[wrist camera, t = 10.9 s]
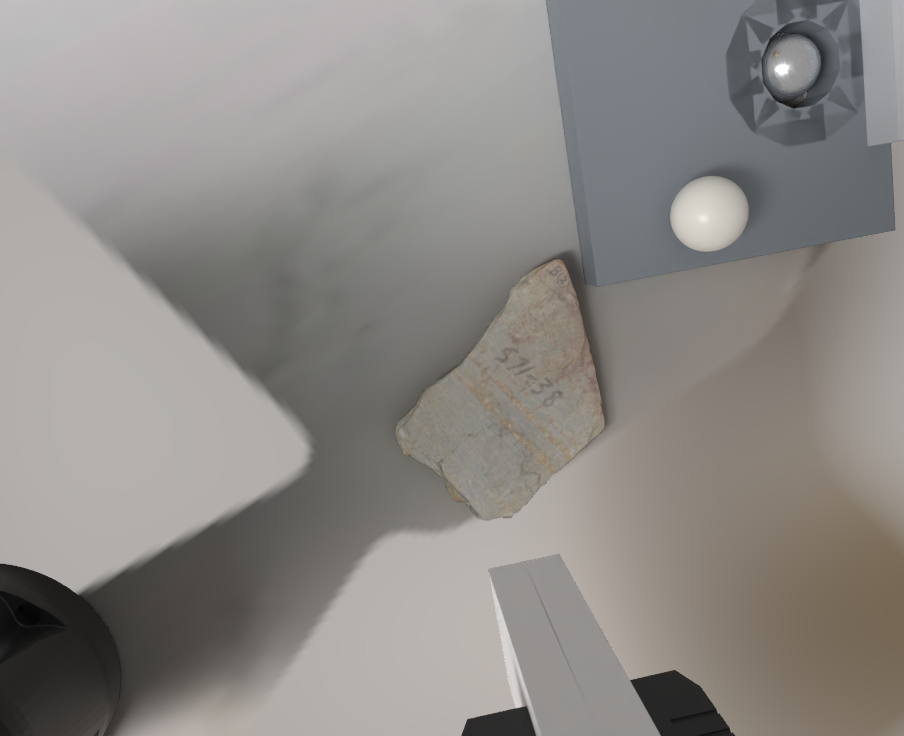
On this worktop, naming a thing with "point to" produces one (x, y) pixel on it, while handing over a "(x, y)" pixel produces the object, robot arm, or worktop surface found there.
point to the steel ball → (790, 66)
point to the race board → (724, 124)
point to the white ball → (709, 213)
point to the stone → (512, 401)
